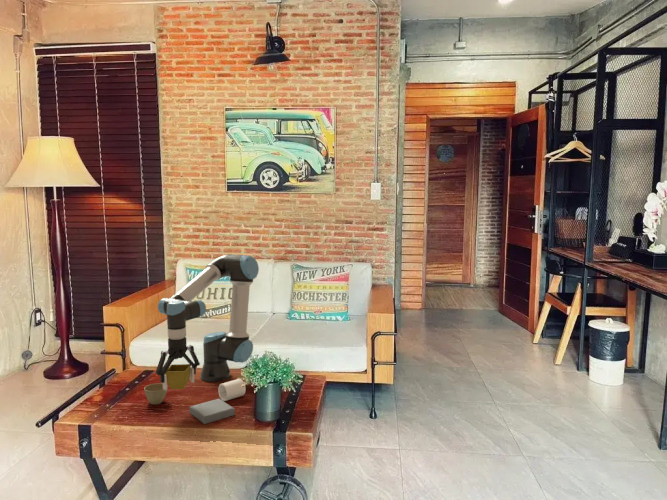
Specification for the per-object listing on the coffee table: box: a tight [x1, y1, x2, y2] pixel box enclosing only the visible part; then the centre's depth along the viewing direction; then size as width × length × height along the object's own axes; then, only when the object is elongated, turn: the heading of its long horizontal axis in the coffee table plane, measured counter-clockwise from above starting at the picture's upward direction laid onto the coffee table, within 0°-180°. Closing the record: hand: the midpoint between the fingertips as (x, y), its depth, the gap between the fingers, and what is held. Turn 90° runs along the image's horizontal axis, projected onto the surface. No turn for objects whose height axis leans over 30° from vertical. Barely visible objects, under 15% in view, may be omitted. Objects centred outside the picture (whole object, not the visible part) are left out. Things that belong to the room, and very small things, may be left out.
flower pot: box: [165, 363, 192, 390], centre depth 208 cm, size 9×9×9 cm
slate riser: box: [189, 398, 236, 425], centre depth 207 cm, size 14×14×3 cm
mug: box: [217, 378, 246, 402], centre depth 225 cm, size 12×10×8 cm
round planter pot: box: [143, 382, 169, 405], centre depth 217 cm, size 10×10×7 cm
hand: (178, 385), depth 209 cm, fingers closed on flower pot, 12 cm apart
